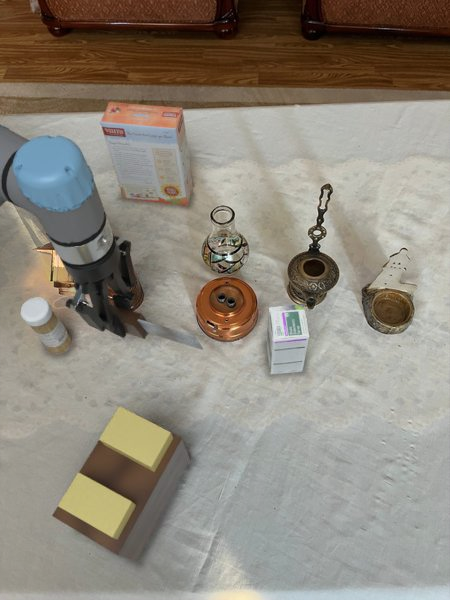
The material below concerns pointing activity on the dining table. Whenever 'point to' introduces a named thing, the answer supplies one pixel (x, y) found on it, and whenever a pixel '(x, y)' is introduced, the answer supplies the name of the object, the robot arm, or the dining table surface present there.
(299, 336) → the syrup box
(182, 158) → the cracker box
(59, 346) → the sprinkles bottle
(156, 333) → the knife
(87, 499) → the butter slice
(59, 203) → the robot arm
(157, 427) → the butter block
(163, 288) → the dining table surface
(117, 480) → the butter stand
